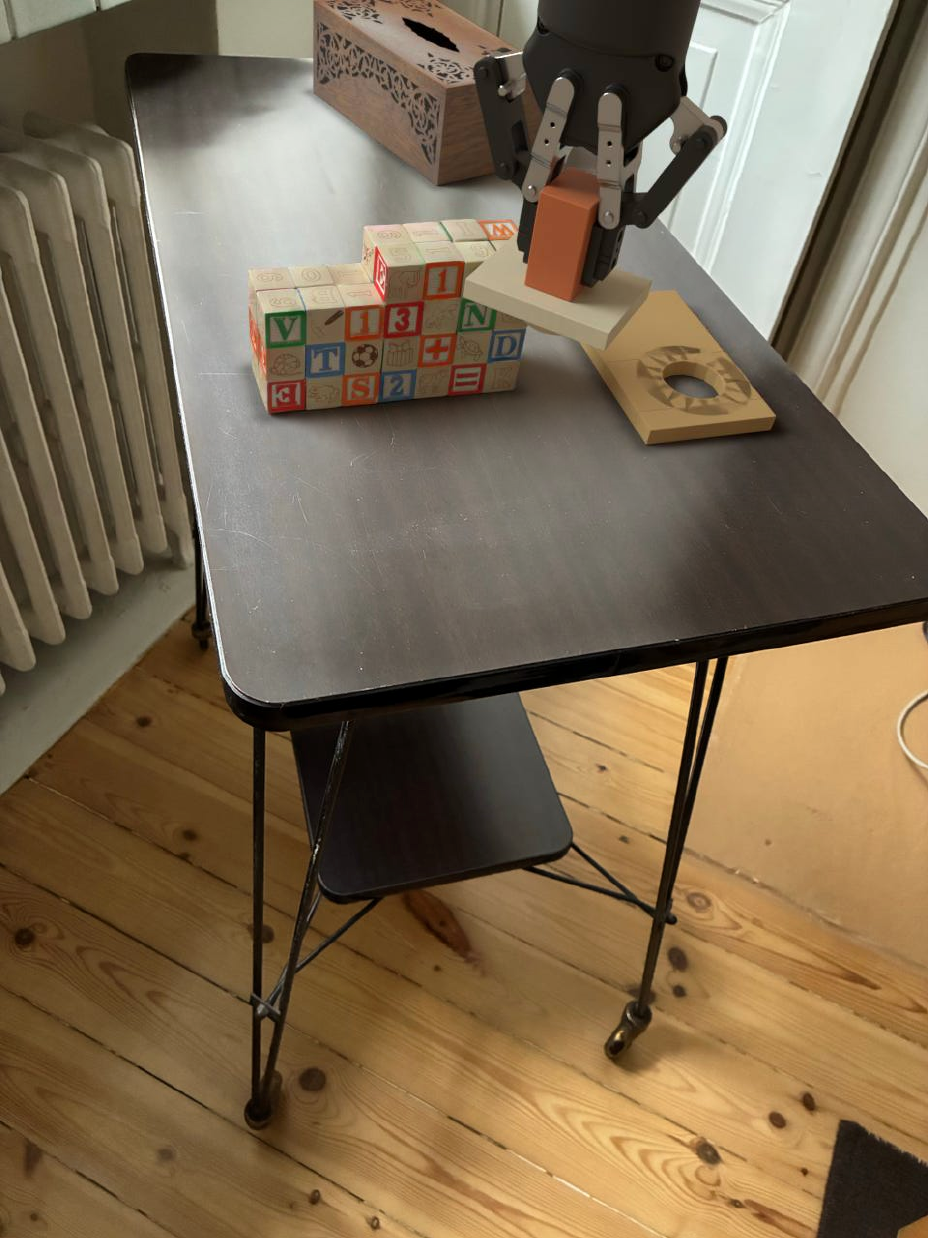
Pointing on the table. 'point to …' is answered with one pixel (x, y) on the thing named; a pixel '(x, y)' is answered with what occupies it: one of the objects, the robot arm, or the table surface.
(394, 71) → the tissue box cover
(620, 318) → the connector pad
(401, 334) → the stack of blocks
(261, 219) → the table surface
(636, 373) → the base pad
